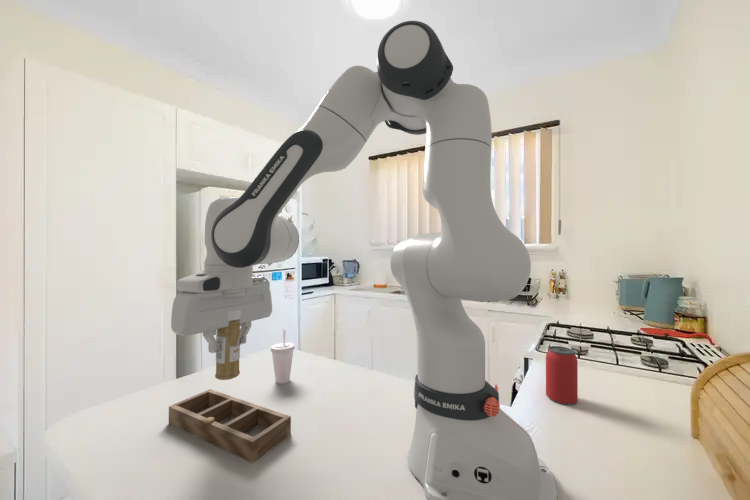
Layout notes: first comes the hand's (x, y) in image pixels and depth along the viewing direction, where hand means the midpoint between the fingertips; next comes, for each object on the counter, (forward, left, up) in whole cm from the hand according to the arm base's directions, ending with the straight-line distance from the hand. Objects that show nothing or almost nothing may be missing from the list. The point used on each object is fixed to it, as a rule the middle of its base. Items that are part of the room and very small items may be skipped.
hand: (228, 347), depth 61 cm
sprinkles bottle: (0, 0, -6) cm, 6 cm away
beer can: (-60, -46, -17) cm, 78 cm away
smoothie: (+7, -22, -17) cm, 28 cm away
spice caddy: (0, 0, -16) cm, 16 cm away
